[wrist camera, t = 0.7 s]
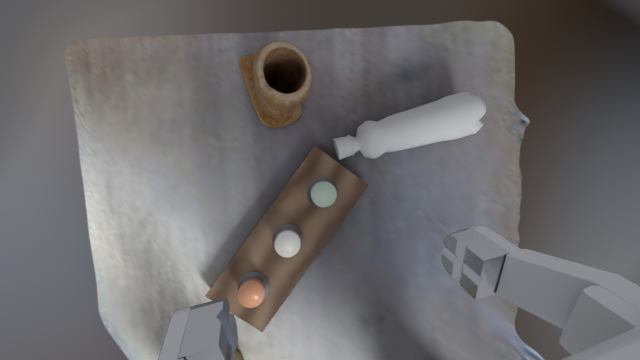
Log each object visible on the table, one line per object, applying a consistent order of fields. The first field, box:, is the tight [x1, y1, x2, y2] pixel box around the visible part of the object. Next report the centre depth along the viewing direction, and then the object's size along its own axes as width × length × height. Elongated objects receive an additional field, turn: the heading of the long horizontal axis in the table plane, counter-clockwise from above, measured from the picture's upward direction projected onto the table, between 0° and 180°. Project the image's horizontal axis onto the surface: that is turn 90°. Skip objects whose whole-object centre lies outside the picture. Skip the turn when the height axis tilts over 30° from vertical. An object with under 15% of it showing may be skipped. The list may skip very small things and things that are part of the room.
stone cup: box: [239, 41, 312, 127], centre depth 45 cm, size 15×12×15 cm
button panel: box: [206, 146, 368, 332], centre depth 53 cm, size 14×38×3 cm, turn 144°
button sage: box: [311, 181, 337, 207], centre depth 49 cm, size 5×5×2 cm
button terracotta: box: [238, 278, 265, 308], centre depth 49 cm, size 5×5×2 cm
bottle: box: [333, 91, 487, 160], centre depth 51 cm, size 9×9×30 cm
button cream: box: [274, 229, 300, 257], centre depth 49 cm, size 5×5×2 cm
